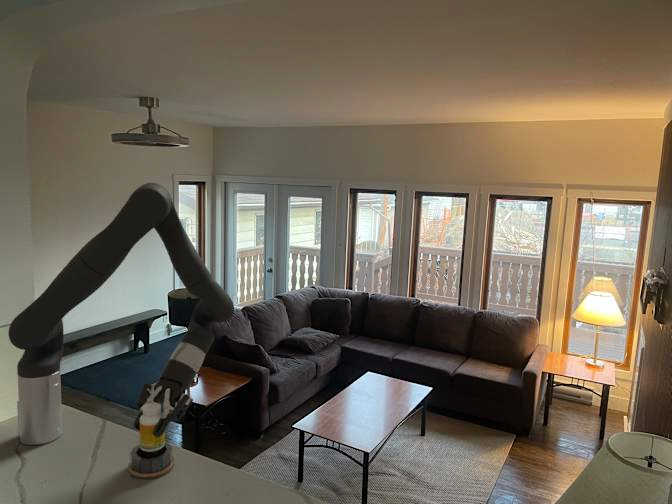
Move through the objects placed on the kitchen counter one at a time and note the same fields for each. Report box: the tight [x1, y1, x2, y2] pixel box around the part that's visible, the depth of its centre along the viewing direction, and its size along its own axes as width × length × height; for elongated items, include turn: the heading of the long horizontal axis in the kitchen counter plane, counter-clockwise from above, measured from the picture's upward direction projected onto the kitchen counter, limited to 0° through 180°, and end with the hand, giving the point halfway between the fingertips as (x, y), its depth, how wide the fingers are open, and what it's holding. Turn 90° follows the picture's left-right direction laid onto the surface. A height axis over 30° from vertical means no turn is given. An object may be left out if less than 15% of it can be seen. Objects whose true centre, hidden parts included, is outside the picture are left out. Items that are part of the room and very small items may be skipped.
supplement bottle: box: [139, 403, 166, 452], centre depth 116 cm, size 5×5×10 cm
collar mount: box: [127, 441, 175, 480], centre depth 117 cm, size 10×10×4 cm
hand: (146, 432), depth 114 cm, fingers closed on supplement bottle, 5 cm apart
